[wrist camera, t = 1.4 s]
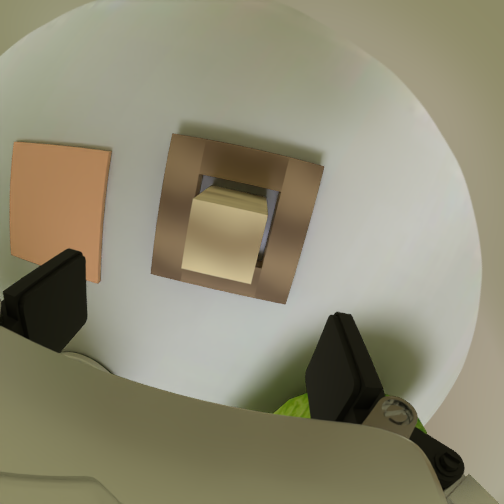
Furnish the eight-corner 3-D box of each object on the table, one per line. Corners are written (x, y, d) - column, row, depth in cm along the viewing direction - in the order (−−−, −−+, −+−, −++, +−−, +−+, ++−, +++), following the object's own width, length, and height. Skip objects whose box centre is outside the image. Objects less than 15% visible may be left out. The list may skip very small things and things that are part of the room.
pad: (100, 281, 31) (97, 283, 30) (13, 253, 30) (11, 254, 30) (111, 151, 26) (109, 151, 26) (17, 141, 26) (13, 141, 25)
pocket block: (284, 294, 30) (285, 304, 29) (157, 266, 30) (150, 273, 28) (319, 165, 26) (324, 166, 24) (178, 134, 26) (172, 133, 24)
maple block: (253, 248, 29) (250, 284, 22) (202, 237, 29) (181, 268, 21) (266, 197, 28) (267, 215, 20) (212, 185, 27) (193, 198, 20)
